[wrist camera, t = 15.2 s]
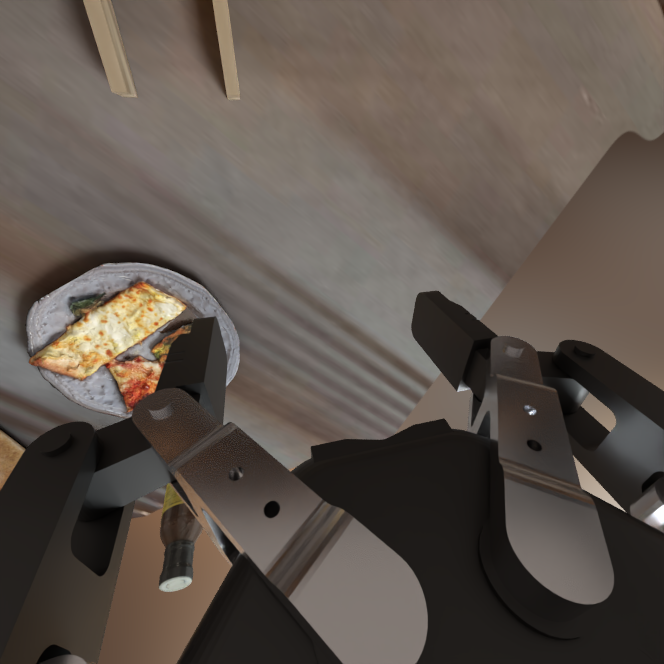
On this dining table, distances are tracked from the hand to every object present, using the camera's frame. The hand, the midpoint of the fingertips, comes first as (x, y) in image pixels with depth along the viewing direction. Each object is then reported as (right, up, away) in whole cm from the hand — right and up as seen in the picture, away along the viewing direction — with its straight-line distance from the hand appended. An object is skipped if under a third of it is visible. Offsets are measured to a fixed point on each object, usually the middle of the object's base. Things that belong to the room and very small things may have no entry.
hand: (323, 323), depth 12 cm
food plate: (-26, -2, +31) cm, 40 cm away
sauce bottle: (-26, -23, +44) cm, 56 cm away
